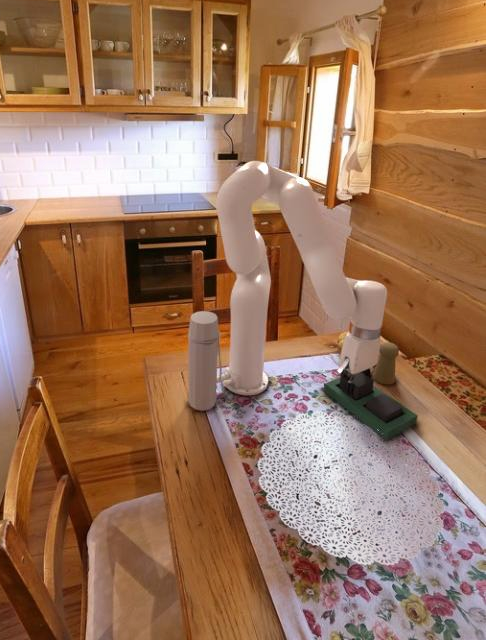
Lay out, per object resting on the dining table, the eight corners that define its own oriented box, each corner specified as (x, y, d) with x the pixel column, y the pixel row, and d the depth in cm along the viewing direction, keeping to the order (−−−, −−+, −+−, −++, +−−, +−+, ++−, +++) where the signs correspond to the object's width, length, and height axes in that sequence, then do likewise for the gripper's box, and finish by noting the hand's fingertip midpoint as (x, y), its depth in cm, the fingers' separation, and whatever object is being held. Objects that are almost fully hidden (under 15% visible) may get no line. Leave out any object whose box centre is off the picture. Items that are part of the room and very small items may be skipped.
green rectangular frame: (386, 440, 95) (388, 432, 94) (323, 391, 111) (324, 383, 110) (416, 423, 100) (418, 415, 99) (352, 378, 116) (353, 371, 116)
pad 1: (356, 400, 105) (358, 387, 103) (339, 387, 109) (340, 374, 108) (372, 392, 108) (374, 380, 106) (354, 380, 112) (356, 368, 111)
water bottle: (197, 417, 100) (198, 328, 92) (182, 399, 106) (182, 314, 98) (228, 404, 105) (231, 318, 97) (212, 387, 111) (214, 305, 103)
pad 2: (384, 429, 98) (386, 415, 97) (364, 414, 103) (366, 401, 101) (399, 420, 101) (402, 407, 100) (379, 406, 106) (382, 393, 104)
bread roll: (365, 369, 121) (368, 346, 118) (331, 361, 125) (335, 338, 122) (369, 348, 132) (373, 326, 129) (338, 341, 136) (341, 320, 133)
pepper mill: (391, 372, 120) (397, 339, 116) (397, 385, 114) (404, 351, 110) (370, 370, 120) (375, 338, 117) (375, 383, 115) (381, 349, 111)
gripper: (375, 315, 110) (366, 371, 116) (329, 330, 101) (321, 391, 107) (399, 327, 104) (388, 386, 110) (352, 345, 95) (343, 408, 101)
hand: (355, 388), depth 108 cm, fingers closed on pad 1, 5 cm apart
